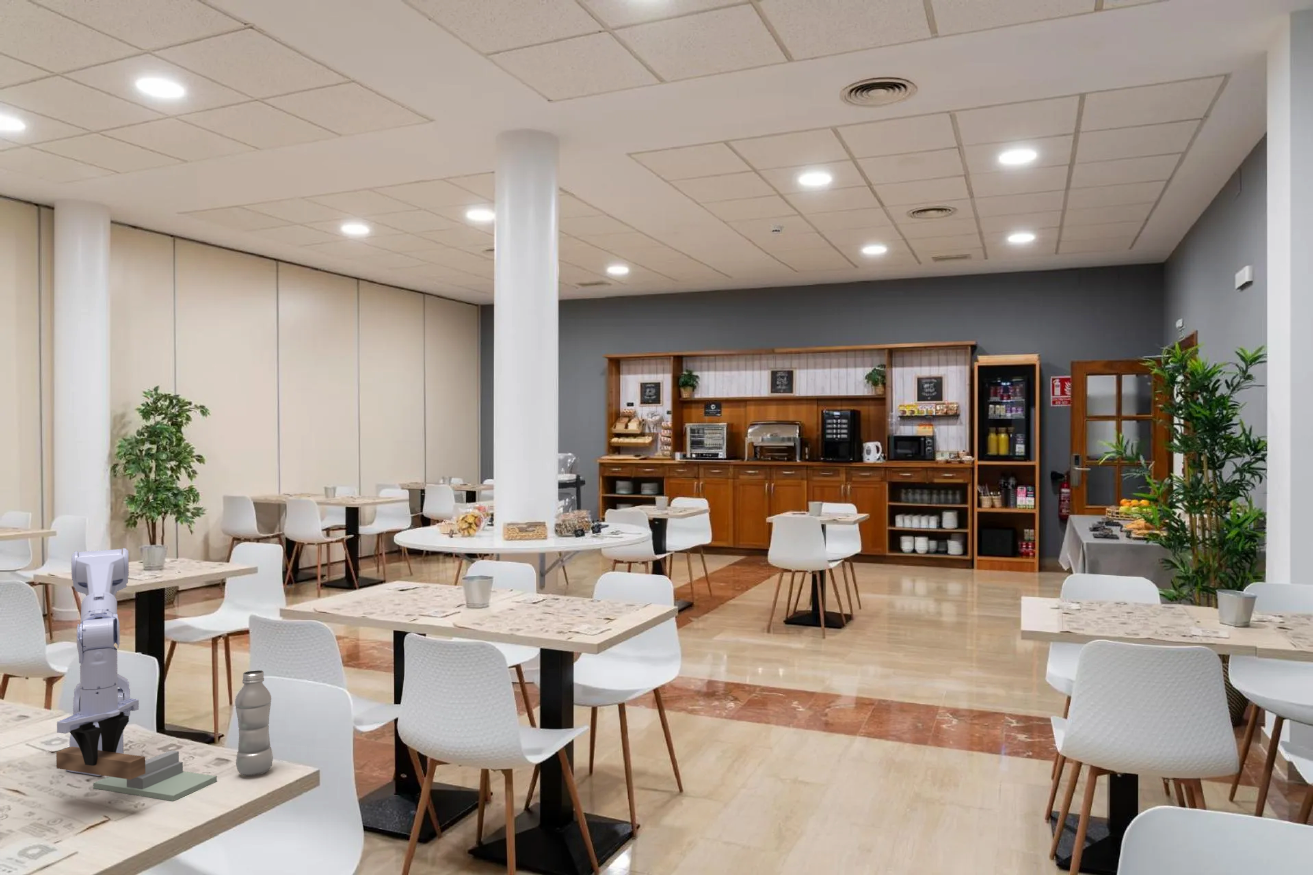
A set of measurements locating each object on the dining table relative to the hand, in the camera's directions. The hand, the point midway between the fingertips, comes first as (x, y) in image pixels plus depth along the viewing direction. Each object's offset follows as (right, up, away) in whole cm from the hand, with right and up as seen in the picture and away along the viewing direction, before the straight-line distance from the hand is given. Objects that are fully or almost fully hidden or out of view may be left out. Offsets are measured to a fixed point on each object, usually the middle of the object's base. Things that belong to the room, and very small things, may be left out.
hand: (99, 760), depth 162 cm
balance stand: (+4, -8, +11) cm, 14 cm away
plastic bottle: (+21, -8, +16) cm, 28 cm away
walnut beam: (0, -2, 0) cm, 2 cm away
